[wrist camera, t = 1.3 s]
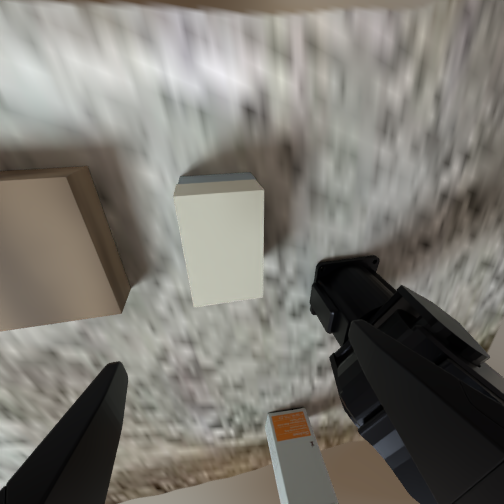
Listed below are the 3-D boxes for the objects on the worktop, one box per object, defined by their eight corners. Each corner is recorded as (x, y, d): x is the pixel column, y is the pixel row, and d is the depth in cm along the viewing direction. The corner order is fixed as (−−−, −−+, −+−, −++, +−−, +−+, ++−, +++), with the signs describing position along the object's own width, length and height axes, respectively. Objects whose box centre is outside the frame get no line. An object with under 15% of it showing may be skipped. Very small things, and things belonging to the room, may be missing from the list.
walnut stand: (87, 166, 15) (65, 177, 13) (130, 288, 20) (121, 313, 18) (-102, 176, 14) (-170, 191, 11) (-4, 306, 19) (-35, 336, 16)
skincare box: (305, 405, 37) (346, 518, 27) (299, 420, 39) (336, 530, 29) (266, 412, 35) (294, 533, 25) (263, 427, 37) (288, 544, 27)
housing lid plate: (255, 179, 16) (264, 189, 14) (255, 277, 20) (262, 297, 18) (176, 184, 15) (172, 196, 13) (194, 285, 19) (193, 307, 17)
